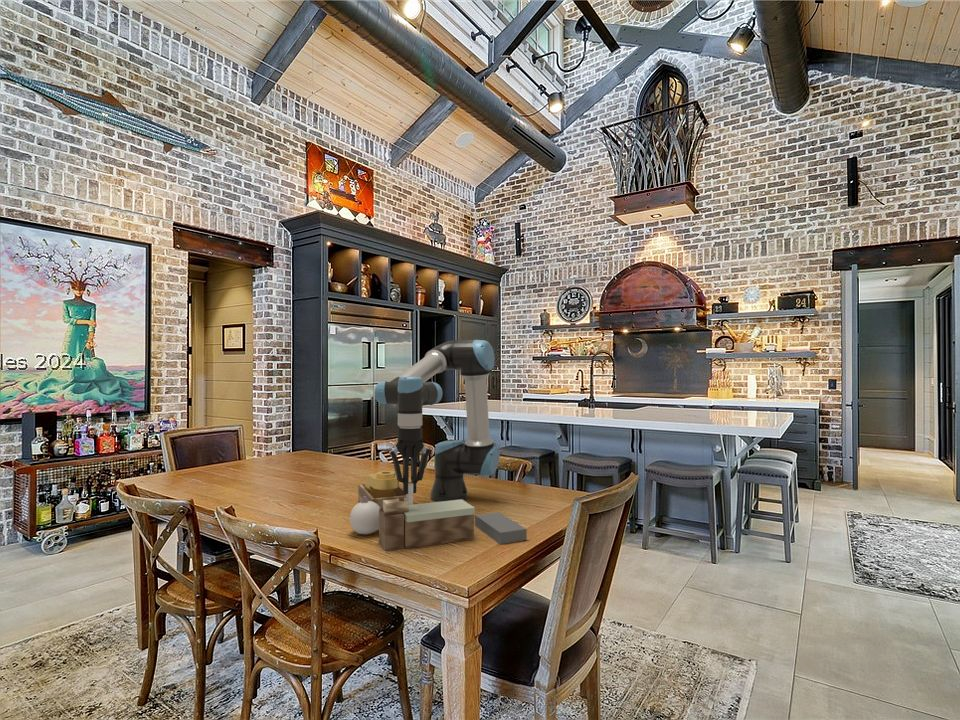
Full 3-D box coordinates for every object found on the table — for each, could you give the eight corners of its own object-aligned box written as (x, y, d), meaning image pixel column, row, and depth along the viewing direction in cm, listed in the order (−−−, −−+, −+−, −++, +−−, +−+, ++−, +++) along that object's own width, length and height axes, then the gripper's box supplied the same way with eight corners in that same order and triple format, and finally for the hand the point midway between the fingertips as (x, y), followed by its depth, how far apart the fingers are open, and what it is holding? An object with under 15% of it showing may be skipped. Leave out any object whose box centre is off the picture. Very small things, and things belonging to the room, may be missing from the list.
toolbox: (463, 530, 168) (463, 497, 168) (474, 539, 160) (474, 504, 160) (378, 541, 157) (378, 506, 157) (385, 551, 149) (385, 514, 149)
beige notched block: (405, 507, 158) (405, 494, 158) (408, 511, 154) (409, 497, 154) (383, 510, 155) (383, 497, 155) (385, 513, 151) (386, 500, 151)
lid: (461, 505, 169) (461, 499, 169) (474, 514, 159) (474, 507, 159) (397, 512, 160) (397, 506, 160) (406, 522, 150) (407, 515, 150)
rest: (498, 522, 177) (498, 512, 177) (526, 540, 158) (526, 529, 158) (474, 525, 173) (474, 515, 173) (500, 544, 155) (500, 532, 155)
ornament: (352, 540, 158) (352, 501, 158) (347, 530, 167) (347, 493, 168) (385, 536, 162) (385, 498, 162) (378, 527, 171) (379, 491, 172)
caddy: (394, 503, 200) (394, 480, 200) (411, 521, 177) (411, 495, 178) (358, 507, 195) (358, 483, 195) (371, 526, 172) (371, 499, 172)
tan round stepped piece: (402, 519, 180) (402, 473, 180) (376, 523, 176) (376, 476, 176) (385, 505, 198) (385, 464, 198) (361, 508, 194) (362, 466, 194)
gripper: (426, 424, 162) (426, 499, 162) (386, 426, 157) (385, 503, 157) (434, 427, 156) (433, 505, 155) (392, 429, 150) (391, 509, 150)
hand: (409, 504), depth 156 cm, fingers closed
